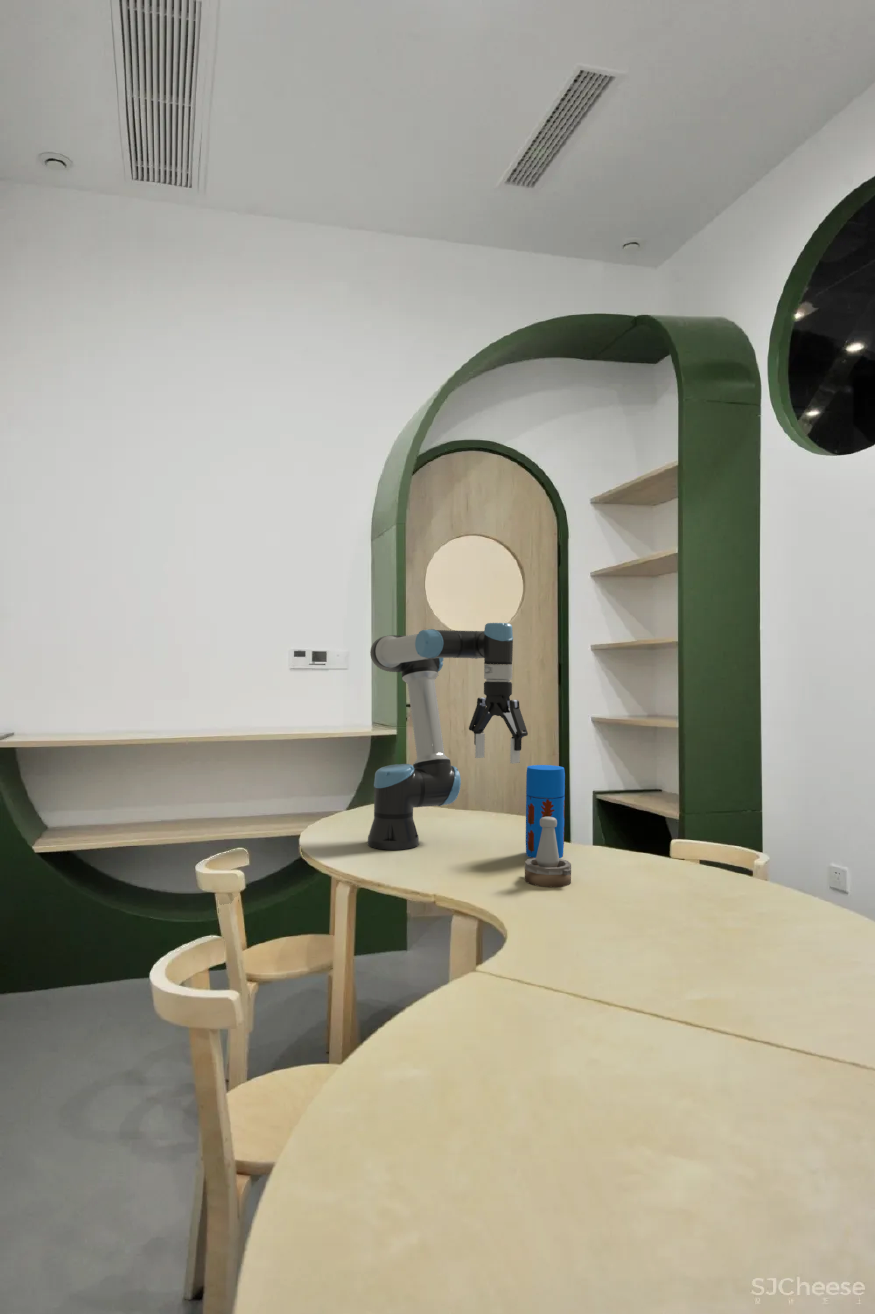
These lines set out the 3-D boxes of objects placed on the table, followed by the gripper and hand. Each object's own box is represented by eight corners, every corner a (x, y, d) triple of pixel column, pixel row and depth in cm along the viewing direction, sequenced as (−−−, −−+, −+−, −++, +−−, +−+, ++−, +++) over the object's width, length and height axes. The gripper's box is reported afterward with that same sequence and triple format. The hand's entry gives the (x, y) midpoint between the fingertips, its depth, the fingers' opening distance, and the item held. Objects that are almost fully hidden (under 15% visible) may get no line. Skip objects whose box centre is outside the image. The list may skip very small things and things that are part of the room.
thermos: (565, 860, 229) (567, 770, 229) (527, 859, 229) (528, 769, 229) (560, 850, 240) (561, 765, 240) (524, 850, 240) (525, 764, 240)
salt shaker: (535, 870, 205) (535, 818, 205) (536, 865, 211) (537, 814, 211) (558, 872, 204) (559, 820, 204) (559, 866, 210) (560, 815, 210)
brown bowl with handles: (511, 878, 209) (511, 860, 209) (543, 871, 217) (543, 854, 217) (552, 891, 198) (553, 872, 198) (584, 883, 206) (584, 865, 206)
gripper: (456, 679, 227) (455, 756, 227) (521, 682, 207) (520, 766, 207) (477, 679, 231) (476, 754, 231) (542, 682, 212) (540, 764, 212)
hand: (497, 760), depth 219 cm, fingers open, 13 cm apart
